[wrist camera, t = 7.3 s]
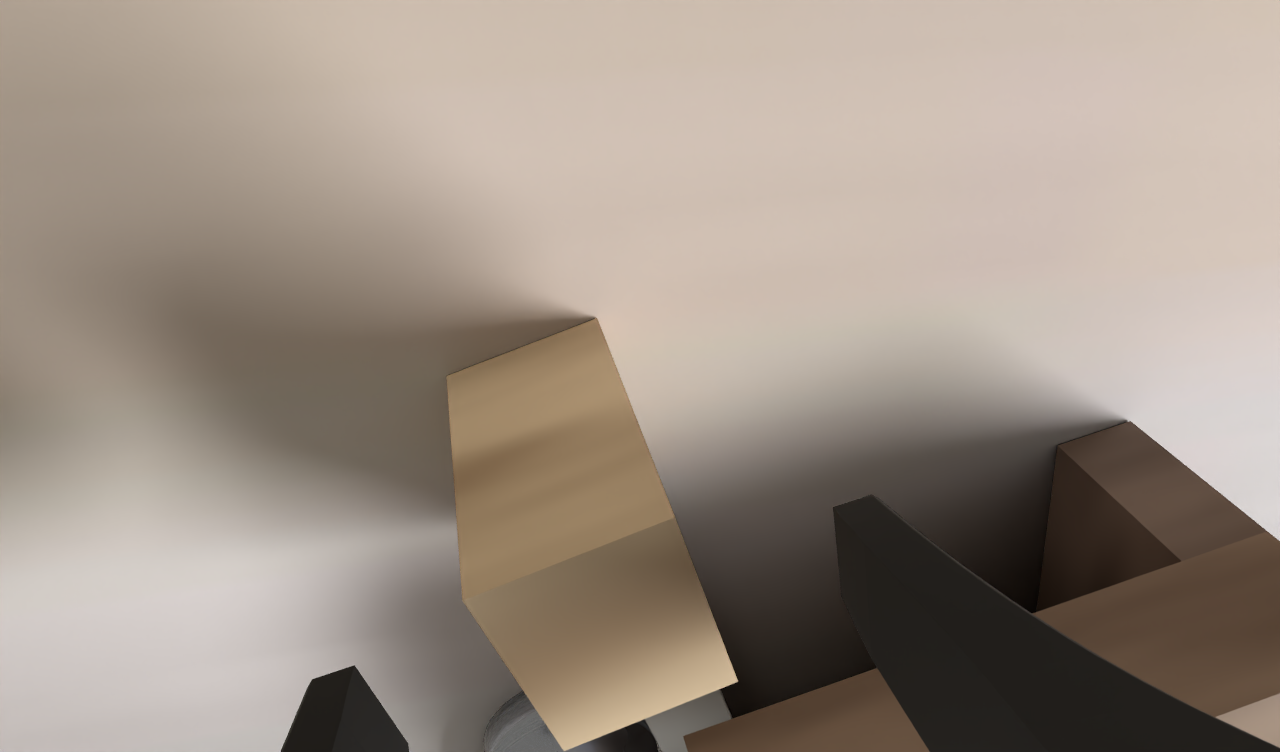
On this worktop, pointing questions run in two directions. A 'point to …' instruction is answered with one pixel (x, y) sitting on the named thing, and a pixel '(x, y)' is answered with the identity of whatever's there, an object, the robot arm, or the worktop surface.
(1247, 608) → the cabinet
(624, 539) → the wooden building block
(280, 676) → the worktop surface
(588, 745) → the disc
